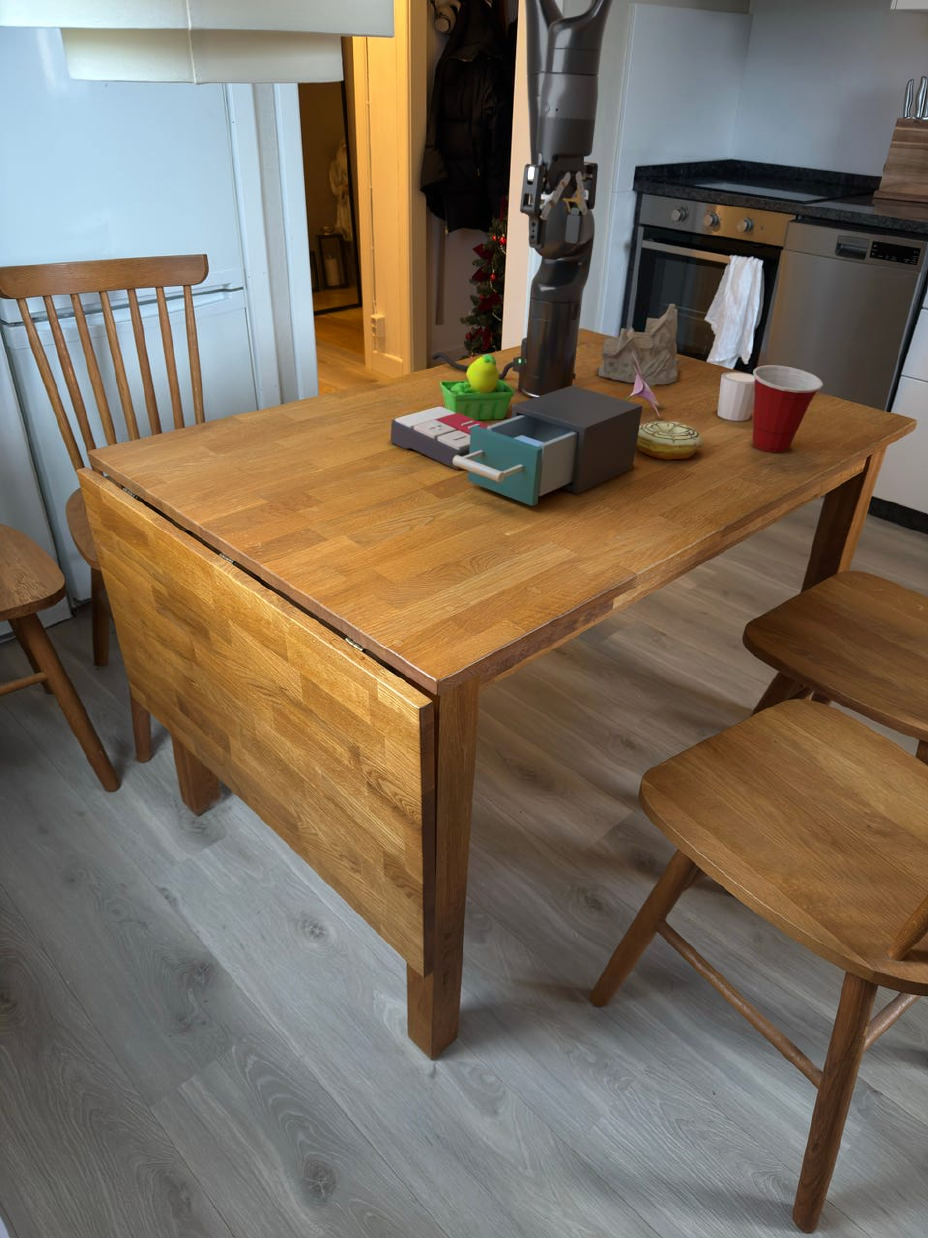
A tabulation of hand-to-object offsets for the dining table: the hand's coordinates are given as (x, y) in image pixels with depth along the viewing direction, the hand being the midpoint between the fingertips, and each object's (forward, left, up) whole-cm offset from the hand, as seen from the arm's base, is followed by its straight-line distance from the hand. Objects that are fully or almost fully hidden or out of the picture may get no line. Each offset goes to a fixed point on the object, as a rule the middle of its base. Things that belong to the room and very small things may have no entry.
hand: (554, 245), depth 127 cm
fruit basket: (-16, +4, -30) cm, 34 cm away
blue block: (+9, -15, -28) cm, 33 cm away
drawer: (+9, -16, -29) cm, 35 cm away
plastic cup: (+26, +30, -30) cm, 50 cm away
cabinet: (+9, -3, -30) cm, 31 cm away
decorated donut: (+15, +15, -30) cm, 37 cm away
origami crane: (+2, +28, -30) cm, 41 cm away
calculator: (-9, -11, -30) cm, 33 cm away
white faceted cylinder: (+14, +40, -30) cm, 52 cm away
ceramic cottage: (-12, +50, -30) cm, 60 cm away
